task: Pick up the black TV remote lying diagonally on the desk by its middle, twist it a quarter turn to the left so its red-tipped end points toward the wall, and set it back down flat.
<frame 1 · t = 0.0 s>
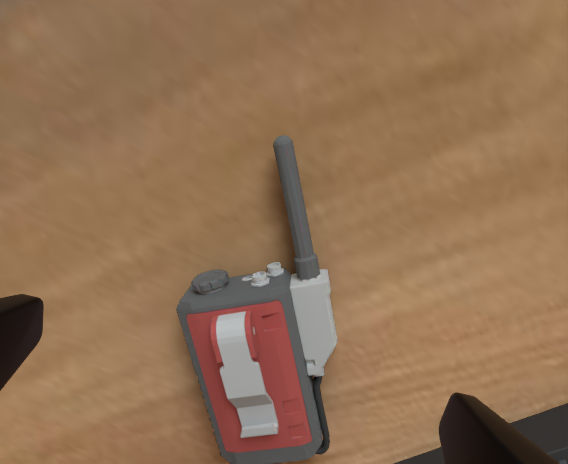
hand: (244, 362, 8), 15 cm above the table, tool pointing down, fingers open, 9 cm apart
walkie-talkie: (263, 306, 24), on the table
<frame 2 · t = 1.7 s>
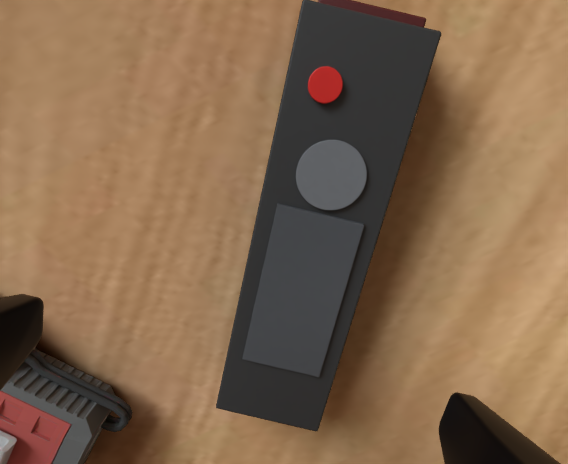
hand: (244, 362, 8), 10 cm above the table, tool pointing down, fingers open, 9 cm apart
remote: (361, 32, 16), on the table
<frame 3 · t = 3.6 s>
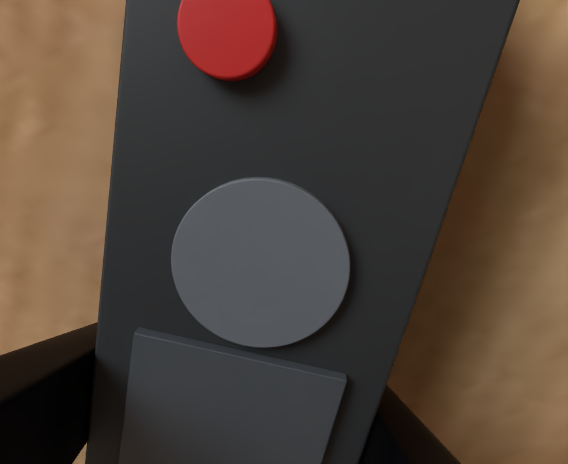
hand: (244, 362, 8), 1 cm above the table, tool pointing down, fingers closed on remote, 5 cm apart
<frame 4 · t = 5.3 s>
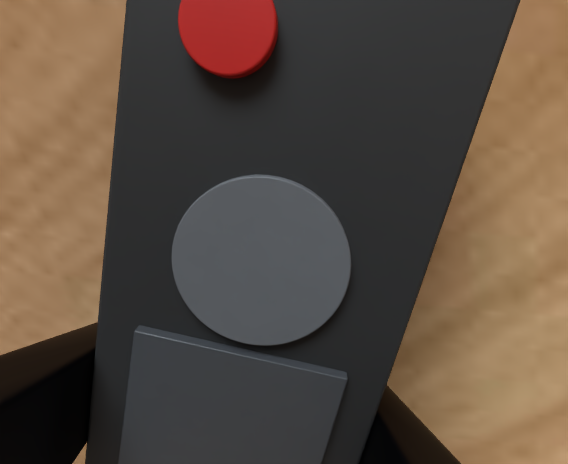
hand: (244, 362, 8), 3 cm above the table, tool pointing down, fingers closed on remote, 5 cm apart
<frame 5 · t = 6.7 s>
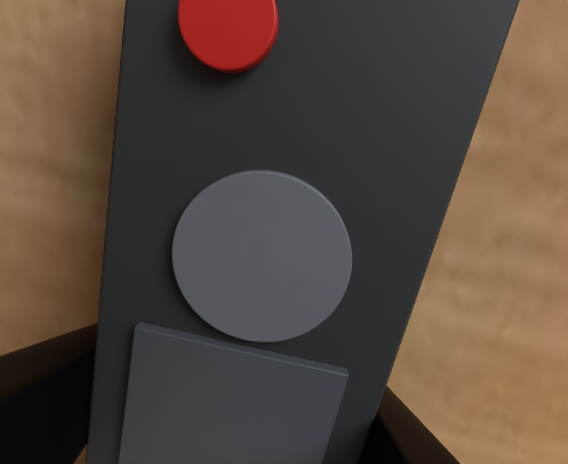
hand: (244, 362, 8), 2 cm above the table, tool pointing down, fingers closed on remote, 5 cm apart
when the fingers open (1 cm above the table, at t = 7.3 s): remote stays where it is, on the table.
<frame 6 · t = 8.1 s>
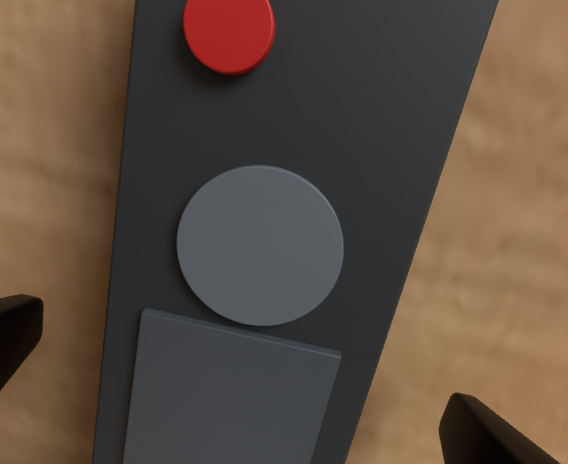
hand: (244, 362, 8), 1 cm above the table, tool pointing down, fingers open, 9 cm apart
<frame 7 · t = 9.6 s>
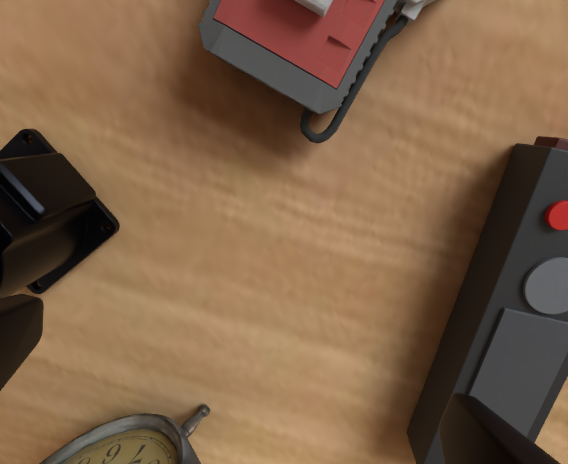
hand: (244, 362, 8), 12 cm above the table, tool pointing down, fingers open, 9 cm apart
remote: (565, 154, 18), on the table
alarm clock: (152, 433, 24), on the table
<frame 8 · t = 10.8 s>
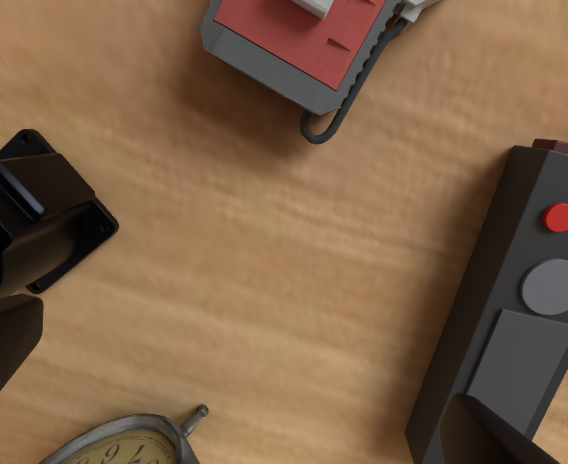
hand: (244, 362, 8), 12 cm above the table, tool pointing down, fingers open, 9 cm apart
remote: (562, 156, 18), on the table
alarm clock: (151, 433, 24), on the table
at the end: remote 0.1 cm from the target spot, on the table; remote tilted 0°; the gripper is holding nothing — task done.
